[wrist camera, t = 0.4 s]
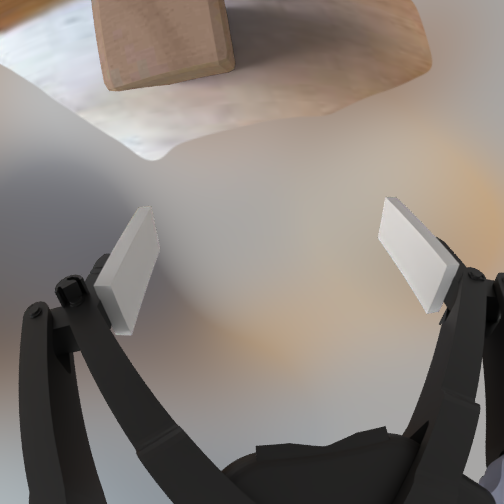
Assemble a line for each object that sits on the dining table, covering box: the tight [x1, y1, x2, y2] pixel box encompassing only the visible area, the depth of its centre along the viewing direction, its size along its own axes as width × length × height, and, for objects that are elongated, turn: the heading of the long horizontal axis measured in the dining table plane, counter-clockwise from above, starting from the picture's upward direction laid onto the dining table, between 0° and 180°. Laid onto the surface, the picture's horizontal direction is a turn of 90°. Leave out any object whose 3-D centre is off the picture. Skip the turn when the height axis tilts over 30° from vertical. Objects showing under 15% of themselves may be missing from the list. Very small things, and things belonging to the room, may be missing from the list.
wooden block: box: [91, 0, 235, 91], centre depth 23 cm, size 10×10×20 cm
